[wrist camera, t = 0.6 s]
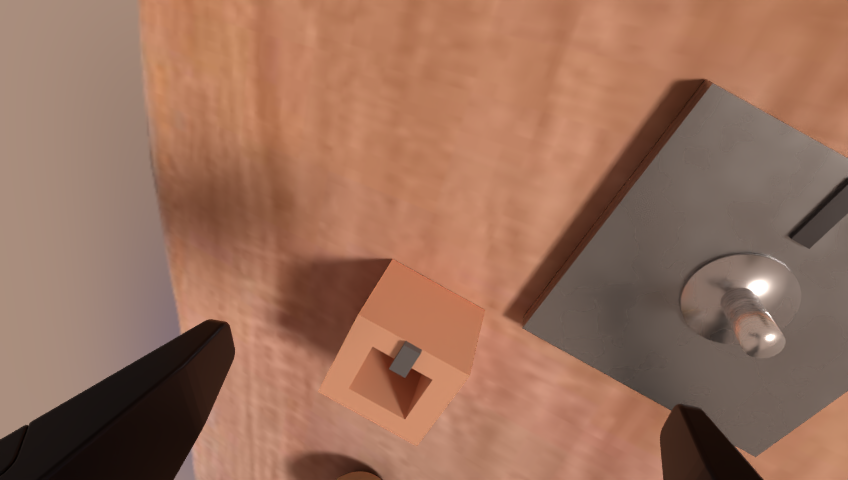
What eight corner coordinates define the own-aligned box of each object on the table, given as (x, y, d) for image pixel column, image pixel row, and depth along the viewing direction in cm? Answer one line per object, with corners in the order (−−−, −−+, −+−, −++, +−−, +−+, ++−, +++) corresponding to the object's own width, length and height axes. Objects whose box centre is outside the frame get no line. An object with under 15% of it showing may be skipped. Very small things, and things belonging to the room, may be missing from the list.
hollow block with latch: (438, 375, 28) (415, 451, 23) (355, 329, 28) (315, 396, 23) (484, 310, 25) (468, 380, 21) (392, 259, 25) (355, 318, 21)
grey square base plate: (748, 440, 25) (779, 513, 21) (523, 316, 25) (518, 368, 21) (1008, 247, 18) (1112, 306, 15) (705, 79, 18) (740, 98, 15)
